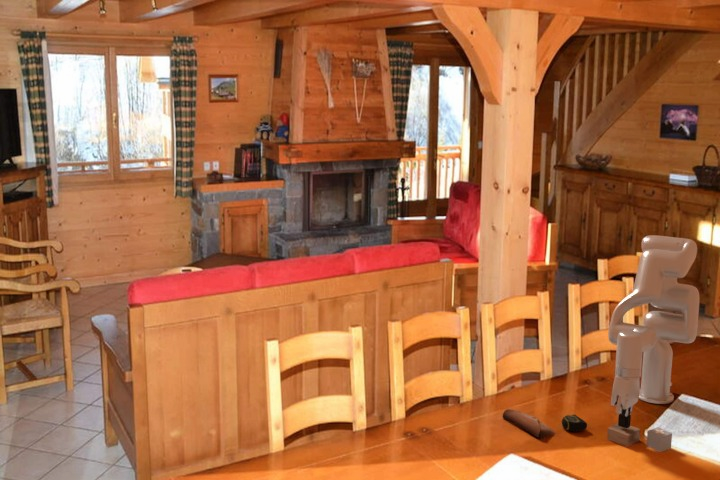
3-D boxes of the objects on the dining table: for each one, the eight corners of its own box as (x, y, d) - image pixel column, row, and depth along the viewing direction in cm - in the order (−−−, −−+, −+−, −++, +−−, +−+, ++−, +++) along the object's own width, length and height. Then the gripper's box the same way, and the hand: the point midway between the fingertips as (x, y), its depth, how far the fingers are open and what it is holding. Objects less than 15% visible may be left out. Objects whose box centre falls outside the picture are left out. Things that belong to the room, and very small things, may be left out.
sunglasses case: (559, 433, 241) (551, 419, 238) (544, 448, 239) (536, 434, 236) (521, 413, 257) (514, 399, 254) (507, 426, 254) (499, 413, 252)
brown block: (619, 433, 242) (620, 421, 241) (639, 441, 237) (640, 429, 236) (607, 439, 238) (607, 428, 237) (627, 447, 232) (628, 435, 232)
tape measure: (587, 432, 243) (588, 421, 242) (569, 435, 241) (569, 424, 240) (575, 423, 249) (576, 412, 249) (557, 426, 247) (558, 415, 246)
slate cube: (657, 442, 236) (658, 426, 235) (670, 448, 232) (672, 432, 231) (646, 445, 233) (647, 430, 232) (660, 452, 229) (661, 436, 228)
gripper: (627, 361, 240) (623, 415, 244) (605, 373, 230) (601, 430, 233) (650, 367, 235) (646, 422, 239) (628, 380, 225) (624, 437, 228)
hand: (624, 426), depth 236 cm, fingers closed
